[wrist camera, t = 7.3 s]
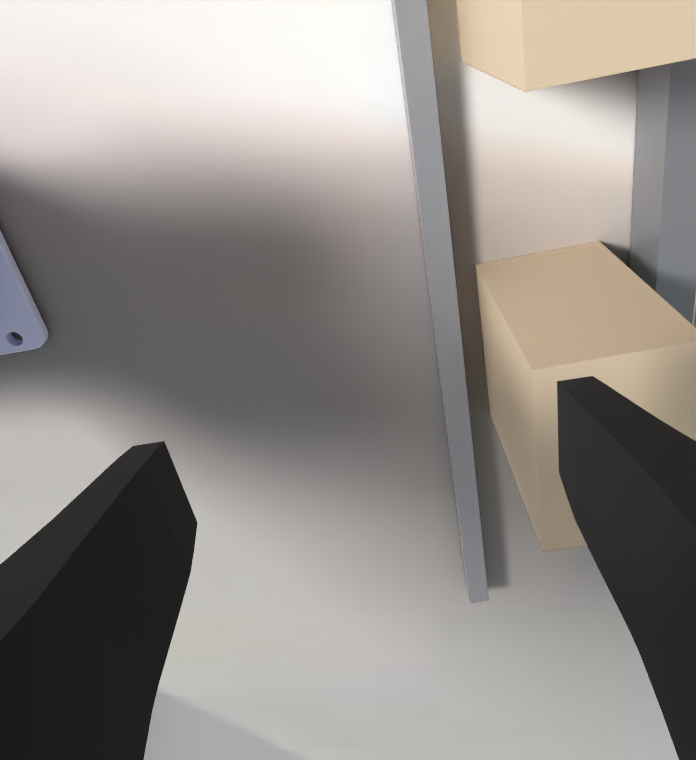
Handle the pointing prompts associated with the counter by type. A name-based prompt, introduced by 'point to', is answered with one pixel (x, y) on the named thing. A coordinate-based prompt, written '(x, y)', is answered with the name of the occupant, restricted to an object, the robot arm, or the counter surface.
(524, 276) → the box
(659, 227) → the pair of grey rails
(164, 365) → the counter surface
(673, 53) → the faced tea box
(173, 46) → the counter surface
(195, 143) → the counter surface
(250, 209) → the counter surface
